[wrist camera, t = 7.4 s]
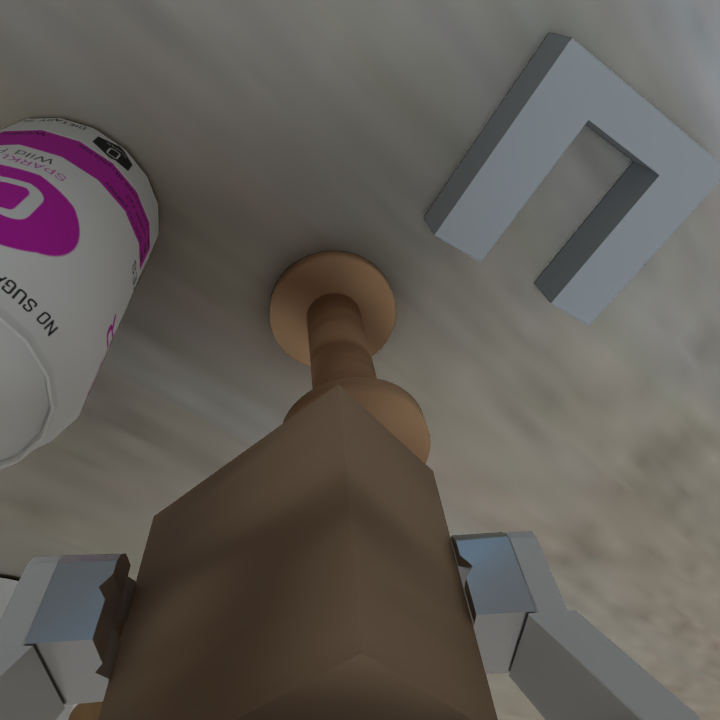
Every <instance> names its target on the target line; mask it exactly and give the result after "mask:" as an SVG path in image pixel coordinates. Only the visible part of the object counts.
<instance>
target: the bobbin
mask: <svg viewBox="0 0 720 720" xmlns="http://www.w3.org/2000/svg"><path fill="white" fill-rule="evenodd" d="M395 318H396V306H395V300H394V297H393V294H392V291H391V288H390V286H389V284H388V281H387V279H386V278H385V276H384V275H383V273H382V272H381V271H380V270H379V269H378V268H377V267H376V266H375V265H373V264H372V263H371V262H369V261H368V260H366V259H364V258H362V257H360V256H358V255H355V254H351V253H347V252H341V251H328V252H321V253H316V254H313V255H310V256H307V257H305V258H303V259H301V260H299V261H298V262H296V263H294V264H293V265H292V266H291V267H289V268H288V269H287V270H286V271H285V272H284V273H283V274H282V276H281V277H280V278H279V280H278V281H277V283H276V285H275V287H274V290H273V293H272V296H271V301H270V323H271V328H272V332H273V335H274V337H275V339H276V341H277V342H278V344H279V345H280V347H281V348H282V349H283V350H284V351H285V352H286V353H287V354H288V355H289V356H290V357H292V358H293V359H295V360H296V361H298V362H300V363H302V364H305V365H308V366H310V367H311V374H312V385H313V390H311V391H309V392H308V393H306V394H305V395H304V396H303V397H301V398H300V399H299V400H298V401H297V402H296V403H295V404H294V405H293V406H292V408H291V409H290V410H289V412H288V414H287V415H286V417H285V419H284V422H283V423H285V422H286V421H288V420H289V419H290V418H292V417H293V416H295V415H296V414H297V413H299V412H300V411H302V410H303V409H304V408H306V407H307V406H309V405H310V404H311V403H313V402H314V401H315V400H317V399H318V398H320V397H321V396H322V395H324V394H325V393H327V392H328V391H329V390H331V389H332V388H334V387H335V386H336V385H338V384H339V385H340V386H341V387H342V388H343V389H344V390H346V391H347V392H348V393H349V394H350V395H351V396H352V397H353V398H354V399H355V400H356V401H357V402H359V403H360V404H361V405H362V406H363V407H364V408H365V409H366V410H367V411H368V412H369V413H370V414H372V415H373V416H374V417H375V418H376V419H377V420H378V421H379V422H380V423H381V424H382V425H383V426H385V427H386V428H387V429H388V430H389V431H390V432H391V433H392V434H393V435H394V436H395V437H396V438H398V439H399V440H400V441H401V442H402V443H403V444H404V445H405V446H406V447H407V448H408V449H409V450H411V451H412V452H413V453H414V454H415V455H416V456H417V457H418V458H419V459H420V460H421V461H422V462H424V463H426V461H427V458H428V456H429V451H430V434H429V431H428V428H427V425H426V422H425V419H424V416H423V413H422V410H421V408H420V406H419V405H418V403H417V402H416V401H415V399H414V398H413V397H412V396H411V395H410V394H409V393H408V392H406V391H405V390H404V389H402V388H401V387H399V386H397V385H395V384H393V383H390V382H387V381H385V380H380V379H377V378H376V374H375V370H374V366H373V362H372V358H371V356H372V355H374V354H375V353H376V352H377V351H378V350H379V349H381V347H382V346H383V345H384V344H385V343H386V341H387V339H388V338H389V336H390V334H391V332H392V330H393V327H394V323H395Z"/></svg>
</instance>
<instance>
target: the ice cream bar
mask: <svg viewBox="0 0 720 720" xmlns="http://www.w3.org/2000/svg"><path fill="white" fill-rule="evenodd" d="M136 585H137V586H136V590H135V594H134V598H133V602H132V605H131V609H130V613H129V617H128V619H127V621H126V622H125V624H124V627H123V631H122V635H121V638H120V641H121V646H120V650H119V654H118V657H117V661H116V665H115V668H114V672H113V676H112V679H111V683H110V684H108V685H107V689H106V693H105V696H104V700H103V701H102V702H92V703H82V704H78V705H77V706H76V707H75V708H74V709H73V710H72V712H71V714H70V716H69V719H68V720H498V719H497V716H496V712H495V708H494V704H493V700H492V696H491V692H490V689H489V685H488V681H487V677H486V673H485V669H484V666H483V662H482V658H481V654H480V650H479V646H478V642H477V639H476V635H475V631H474V627H473V623H472V619H471V616H470V612H469V608H468V604H467V600H466V596H465V592H464V589H463V585H462V581H461V577H460V573H459V569H458V566H457V562H456V558H455V554H454V550H453V546H452V542H451V539H450V535H449V531H448V527H447V523H446V519H445V516H444V512H443V508H442V504H441V500H440V496H439V492H438V489H437V485H436V481H435V477H434V473H433V471H432V470H431V469H430V468H429V467H428V466H427V465H426V464H425V463H424V462H422V461H421V460H420V459H419V458H418V457H417V456H416V455H415V454H414V453H413V452H412V451H411V450H409V449H408V448H407V447H406V446H405V445H404V444H403V443H402V442H401V441H400V440H399V439H398V438H396V437H395V436H394V435H393V434H392V433H391V432H390V431H389V430H388V429H387V428H386V427H385V426H383V425H382V424H381V423H380V422H379V421H378V420H377V419H376V418H375V417H374V416H373V415H372V414H370V413H369V412H368V411H367V410H366V409H365V408H364V407H363V406H362V405H361V404H360V403H359V402H357V401H356V400H355V399H354V398H353V397H352V396H351V395H350V394H349V393H348V392H347V391H346V390H344V389H343V388H342V387H341V386H340V385H339V384H338V385H336V386H335V387H334V388H332V389H331V390H329V391H328V392H327V393H325V394H324V395H322V396H321V397H320V398H318V399H317V400H315V401H314V402H313V403H311V404H310V405H309V406H307V407H306V408H304V409H303V410H302V411H300V412H299V413H297V414H296V415H295V416H293V417H292V418H290V419H289V420H288V421H286V422H285V423H283V424H282V425H281V426H279V427H278V428H276V429H275V430H274V431H272V432H271V433H270V434H268V435H267V436H265V437H264V438H263V439H261V440H260V441H258V442H257V443H256V444H254V445H253V446H251V447H250V448H249V449H247V450H246V451H244V452H243V453H242V454H240V455H239V456H237V457H236V458H235V459H233V460H232V461H231V462H229V463H228V464H226V465H225V466H224V467H222V468H221V469H219V470H218V471H217V472H215V473H214V474H212V475H211V476H210V477H208V478H207V479H205V480H204V481H203V482H201V483H200V484H198V485H197V486H196V487H194V488H193V489H192V490H190V491H189V492H187V493H186V494H185V495H183V496H182V497H180V498H179V499H178V500H176V501H175V502H173V503H172V504H171V505H169V506H168V507H166V508H165V509H164V510H162V511H161V512H159V513H158V514H157V515H155V516H154V518H153V522H152V525H151V529H150V533H149V536H148V540H147V544H146V547H145V551H144V554H143V558H142V562H141V565H140V569H139V573H138V576H137V580H136Z"/></svg>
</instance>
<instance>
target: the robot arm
mask: <svg viewBox="0 0 720 720" xmlns="http://www.w3.org/2000/svg"><path fill="white" fill-rule="evenodd" d="M450 539H451V542H452V546H453V550H454V554H455V558H456V562H457V566H458V569H459V573H460V577H461V581H462V585H463V589H464V592H465V596H466V600H467V604H468V608H469V612H470V616H471V619H472V623H473V627H474V631H475V635H476V639H477V642H478V646H479V650H480V654H481V658H482V662H483V666H484V669H485V673H486V674H493V673H509V676H510V677H511V679H512V680H513V681H514V682H515V683H516V685H517V686H518V687H519V688H520V689H521V691H522V692H523V693H524V694H525V695H526V697H527V698H528V699H529V700H530V701H531V703H532V704H533V705H534V706H535V707H536V708H537V710H538V711H539V712H540V713H541V714H542V716H543V717H544V718H545V719H546V720H701V719H700V717H699V716H698V715H697V714H696V713H695V712H694V711H692V710H691V709H690V708H689V707H688V706H687V705H685V704H684V703H683V702H682V701H681V700H680V699H678V698H677V697H676V696H675V695H674V694H673V693H671V692H670V691H669V690H668V689H667V688H666V687H664V686H663V685H662V684H661V683H660V682H659V681H657V680H656V679H655V678H654V677H653V676H652V675H650V674H649V673H648V672H647V671H646V670H645V669H643V668H642V667H641V666H640V665H639V664H638V663H636V662H635V661H634V660H633V659H632V658H631V657H629V656H628V655H627V654H626V653H625V652H624V651H622V650H621V649H620V648H619V647H618V646H617V645H615V644H614V643H613V642H612V641H611V640H610V639H608V638H607V637H606V636H605V635H604V634H603V633H601V632H600V631H599V630H598V629H597V628H596V627H594V626H593V625H592V624H591V623H590V622H589V621H587V620H586V619H585V618H584V617H583V616H581V615H580V614H579V613H578V612H577V611H576V610H573V611H567V608H566V606H565V604H564V601H563V599H562V596H561V594H560V592H559V589H558V587H557V585H556V582H555V580H554V578H553V575H552V573H551V570H550V568H549V566H548V563H547V561H546V559H545V556H544V554H543V552H542V549H541V547H540V544H539V542H538V540H537V537H536V536H535V535H534V534H533V533H532V531H525V532H509V533H503V532H497V533H482V534H467V535H452V536H451V538H450ZM129 569H130V563H129V560H128V557H127V555H126V554H98V555H61V556H39V557H33V558H32V560H31V561H30V562H29V563H28V564H27V565H26V567H25V569H24V571H23V573H22V575H21V577H20V579H19V581H16V580H11V579H5V578H0V720H68V719H69V716H70V714H71V712H72V710H73V709H74V708H75V707H76V706H77V705H78V704H82V703H92V702H102V701H103V700H104V696H105V693H106V689H107V685H108V684H110V683H111V679H112V676H113V672H114V668H115V665H116V661H117V657H118V654H119V650H120V646H121V641H120V638H121V635H122V631H123V627H124V624H125V622H126V621H127V619H128V617H129V613H130V609H131V605H132V602H133V598H134V594H135V590H136V586H137V585H136V582H135V581H134V580H133V579H131V578H129V577H128V573H129Z"/></svg>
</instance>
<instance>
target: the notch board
mask: <svg viewBox="0 0 720 720" xmlns="http://www.w3.org/2000/svg"><path fill="white" fill-rule="evenodd" d="M585 124H586V125H587V126H588V127H590V128H591V129H592V130H594V131H595V132H596V133H597V134H599V135H600V136H601V137H603V138H604V139H605V140H607V141H608V142H609V143H610V144H612V145H613V146H614V147H616V148H617V149H618V150H619V151H621V152H622V153H623V154H625V155H626V156H627V157H629V158H630V159H631V160H632V161H634V162H633V163H632V164H631V165H630V167H629V168H628V169H627V170H626V171H625V173H624V174H623V175H622V176H621V178H620V179H619V180H618V181H617V182H616V184H615V185H614V186H613V187H612V189H611V190H610V191H609V192H608V193H607V195H606V196H605V197H604V198H603V200H602V201H601V202H600V203H599V204H598V206H597V207H596V208H595V209H594V210H593V212H592V213H591V214H590V215H589V217H588V218H587V219H586V220H585V221H584V223H583V224H582V225H581V226H580V228H579V229H578V230H577V231H576V232H575V234H574V235H573V236H572V237H571V239H570V240H569V241H568V242H567V243H566V245H565V246H564V247H563V248H562V250H561V251H560V252H559V253H558V254H557V256H556V257H555V258H554V259H553V261H552V262H551V263H550V264H549V265H548V267H547V268H546V269H545V270H544V272H543V273H542V274H541V275H540V276H539V278H538V279H537V280H536V281H535V283H534V284H535V285H536V286H537V288H538V289H539V290H540V291H541V292H542V294H543V295H544V296H545V297H546V298H547V300H548V301H549V302H550V303H551V304H552V305H554V306H556V307H558V308H559V309H561V310H563V311H564V312H566V313H568V314H570V315H571V316H573V317H575V318H576V319H578V320H580V321H581V322H583V323H585V324H587V325H588V326H589V325H590V324H591V323H592V322H593V321H594V320H595V319H596V318H597V316H598V315H599V314H600V313H601V312H602V311H603V310H604V309H605V308H606V306H607V305H608V304H609V303H610V302H611V301H612V300H613V299H614V298H615V296H616V295H617V294H618V293H619V292H620V291H621V290H622V289H623V288H624V287H625V285H626V284H627V283H628V282H629V281H630V280H631V279H632V278H633V277H634V275H635V274H636V273H637V272H638V271H639V270H640V269H641V268H642V267H643V265H644V264H645V263H646V262H647V261H648V260H649V259H650V258H651V257H652V256H653V254H654V253H655V252H656V251H657V250H658V249H659V248H660V247H661V246H662V244H663V243H664V242H665V241H666V240H667V239H668V238H669V237H670V236H671V234H672V233H673V232H674V231H675V230H676V229H677V228H678V227H679V226H680V225H681V223H682V222H683V221H684V220H685V219H686V218H687V217H688V216H689V215H690V213H691V212H692V211H693V210H694V209H695V208H696V207H697V206H698V205H699V203H700V202H701V201H702V200H703V199H704V198H705V197H706V196H707V195H708V194H709V192H710V191H711V190H712V189H713V188H714V187H715V186H716V185H717V184H718V182H719V181H720V162H719V161H717V160H716V159H715V158H714V157H713V156H712V155H710V154H709V153H708V152H707V151H706V150H704V149H703V148H702V147H701V146H700V145H698V144H697V143H696V142H695V141H694V140H693V139H691V138H690V137H689V136H688V135H687V134H685V133H684V132H683V131H682V130H681V129H680V128H678V127H677V126H676V125H675V124H674V123H672V122H671V121H670V120H669V119H668V118H667V117H665V116H664V115H663V114H662V113H661V112H659V111H658V110H657V109H656V108H655V107H653V106H652V105H651V104H650V103H649V102H648V101H646V100H645V99H644V98H643V97H642V96H640V95H639V94H638V93H637V92H636V91H635V90H633V89H632V88H631V87H630V86H629V85H627V84H626V83H625V82H624V81H623V80H622V79H620V78H619V77H618V76H617V75H616V74H614V73H613V72H612V71H611V70H610V69H608V68H607V67H606V66H605V65H604V64H603V63H601V62H600V61H599V60H598V59H597V58H595V57H594V56H593V55H592V54H591V53H590V52H588V51H587V50H586V49H585V48H584V47H582V46H581V45H580V44H579V43H578V42H577V41H575V40H574V39H573V38H571V37H566V36H562V35H557V34H553V33H548V35H547V36H546V38H545V39H544V41H543V42H542V44H541V45H540V47H539V48H538V50H537V51H536V53H535V54H534V55H533V57H532V58H531V60H530V61H529V63H528V64H527V66H526V67H525V69H524V70H523V72H522V73H521V75H520V76H519V78H518V79H517V81H516V82H515V84H514V85H513V86H512V88H511V89H510V91H509V92H508V94H507V95H506V97H505V98H504V100H503V101H502V103H501V104H500V106H499V107H498V109H497V110H496V112H495V113H494V115H493V116H492V117H491V119H490V120H489V122H488V123H487V125H486V126H485V128H484V129H483V131H482V132H481V134H480V135H479V137H478V138H477V140H476V141H475V143H474V144H473V145H472V147H471V148H470V150H469V151H468V153H467V154H466V156H465V157H464V159H463V160H462V162H461V163H460V165H459V166H458V168H457V169H456V171H455V172H454V174H453V175H452V176H451V178H450V179H449V181H448V182H447V184H446V185H445V187H444V188H443V190H442V191H441V193H440V194H439V196H438V197H437V199H436V200H435V202H434V203H433V204H432V206H431V207H430V209H429V210H428V212H427V213H426V215H425V216H424V219H425V221H426V222H427V224H428V226H429V227H430V229H431V231H432V232H433V234H434V235H435V236H436V237H438V238H440V239H442V240H443V241H445V242H447V243H448V244H450V245H452V246H453V247H455V248H457V249H459V250H460V251H462V252H464V253H465V254H467V255H469V256H471V257H472V258H474V259H476V260H477V261H479V262H482V260H483V259H484V258H485V256H486V255H487V254H488V252H489V251H490V250H491V248H492V247H493V246H494V244H495V243H496V242H497V240H498V239H499V238H500V236H501V235H502V234H503V232H504V231H505V230H506V228H507V227H508V226H509V225H510V223H511V222H512V221H513V219H514V218H515V217H516V215H517V214H518V213H519V211H520V210H521V209H522V207H523V206H524V205H525V203H526V202H527V201H528V199H529V198H530V197H531V195H532V194H533V193H534V191H535V190H536V189H537V187H538V186H539V185H540V184H541V182H542V181H543V180H544V178H545V177H546V176H547V174H548V173H549V172H550V170H551V169H552V168H553V166H554V165H555V164H556V162H557V161H558V160H559V158H560V157H561V156H562V154H563V153H564V152H565V150H566V149H567V148H568V146H569V145H570V144H571V143H572V141H573V140H574V139H575V137H576V136H577V135H578V133H579V132H580V131H581V129H582V128H583V127H584V125H585Z"/></svg>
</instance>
